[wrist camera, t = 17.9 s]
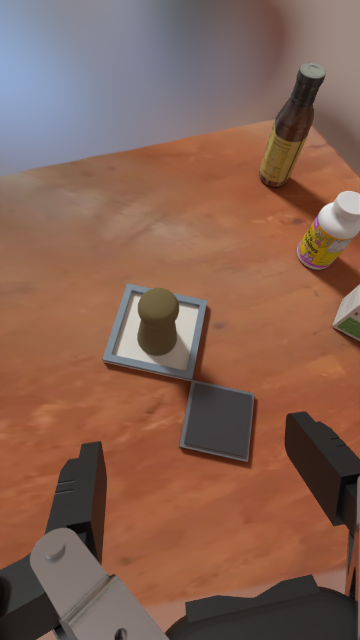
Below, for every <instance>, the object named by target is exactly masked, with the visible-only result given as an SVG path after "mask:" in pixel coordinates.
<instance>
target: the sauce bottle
mask: <svg viewBox="0 0 360 640" xmlns="http://www.w3.org/2000/svg"><path fill="white" fill-rule="evenodd" d="M325 75H326V71H325V69H324V68H323V67H322V66H320V65H317V64H313V63H305V64H303V65H302V66H301V67H300V69H299V72H298V74H297V81H296V84H295V87H294V90H293V92H292V94H291V97H290V98H289V100H288V101H287V102H286V104H285V105H284V107H283V108H282V109H281V111H280V112H279V114H278V115H277V117H276V120H275V123H274V126H273V129H272V132H271V135H270V138H269V141H268V144H267V148H266V151H265V154H264V157H263V160H262V163H261V166H260V171H259V176H260V179H261V181H263V183H265V184H266V185H268V186H271V187H278V186H283V185H284V184H285V183H286V182H287V180H288V178H289V177H290V175H291V173H292V170H293V168H294V166H295V163H296V161H297V159H298V156H299V154H300V152H301V149H302V147H303V145H304V142H305V140H306V138H307V135H308V132H309V129H310V127H311V125H312V122H313V117H314V109H313V105H312V104H313V102H314V100H315V97H316V94H317V92H318V89H319V87H320V86H321V84H322V83H323V80H324V78H325Z"/></svg>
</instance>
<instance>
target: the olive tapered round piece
mask: <svg viewBox="0 0 360 640" xmlns="http://www.w3.org/2000/svg"><path fill="white" fill-rule="evenodd" d="M138 314H139V317H140V319H141V321H140V325H139V329H138V334H137V341H138V344H139V346H140V347H141V349H142V350H143V351H144V352H146V353H147V354H150V355H153V356H161V355H165V354H167V353H169V352H170V351H171V350H172V349H173V348H174V347H175V345H176V342H177V331H176V324H175V320H176V319H177V317H178V314H179V303H178V300H177V298H176V296H175V295H174V294H173V293H172V292H170V291H169V290H166V289H163V288H154V289H150V290H148V291H147V292H145V293H144V294H143V295H142V296H141V298H140V300H139V303H138Z"/></svg>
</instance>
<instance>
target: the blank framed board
mask: <svg viewBox="0 0 360 640" xmlns="http://www.w3.org/2000/svg"><path fill="white" fill-rule="evenodd" d="M150 289H151V288H146V287H142V286H137V285H132V284H127V286H126V289H125V292H124V295H123V298H122V301H121V304H120V307H119V310H118V313H117V316H116V319H115V322H114V325H113V328H112V331H111V335H110V338H109V341H108V344H107V347H106V350H105V353H104V356H103V359H102V360H103V362H105V363H109V364H114V365H119V366H123V367H128V368H132V369H137V370H141V371H146V372H151V373H155V374H160V375H164V376H169V377H173V378H178V379H182V380H187V381H192V378H193V372H194V367H195V362H196V356H197V351H198V346H199V341H200V335H201V330H202V325H203V319H204V314H205V309H206V304H207V300H202V299H198V298H193V297H188V296H184V295H179V294H174V293H173V294H174V295H175V296H176V298H177V300H178V303H179V314H178V317H177V319H176V320H175V324H176V331H177V342H176V345H175V347H174V348H173V349H172V350H171V351H170V352H169V353H167V354H165V355H161V356H153V355H150V354H147V353H146V352H144V351H143V350H142V349H141V347H140V346H139V344H138V341H137V334H138V329H139V325H140V321H141V319H140V317H139V314H138V303H139V300H140V298H141V296H142V295H143V294H144V293H145V292H147V291H148V290H150Z"/></svg>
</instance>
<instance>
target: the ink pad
mask: <svg viewBox="0 0 360 640" xmlns="http://www.w3.org/2000/svg"><path fill="white" fill-rule="evenodd" d="M253 403H254V393H251V392H246V391H242V390H237V389H233V388H228V387H224V386H219V385H214V384H210V383H205V382H201V381H196V380H192V381H191V385H190V391H189V396H188V401H187V407H186V412H185V417H184V422H183V428H182V433H181V438H180V443H179V447H181V448H186V449H190V450H194V451H199V452H203V453H208V454H212V455H217V456H221V457H226V458H230V459H235V460H239V461H244V462H248V455H249V445H250V434H251V424H252V414H253Z"/></svg>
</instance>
